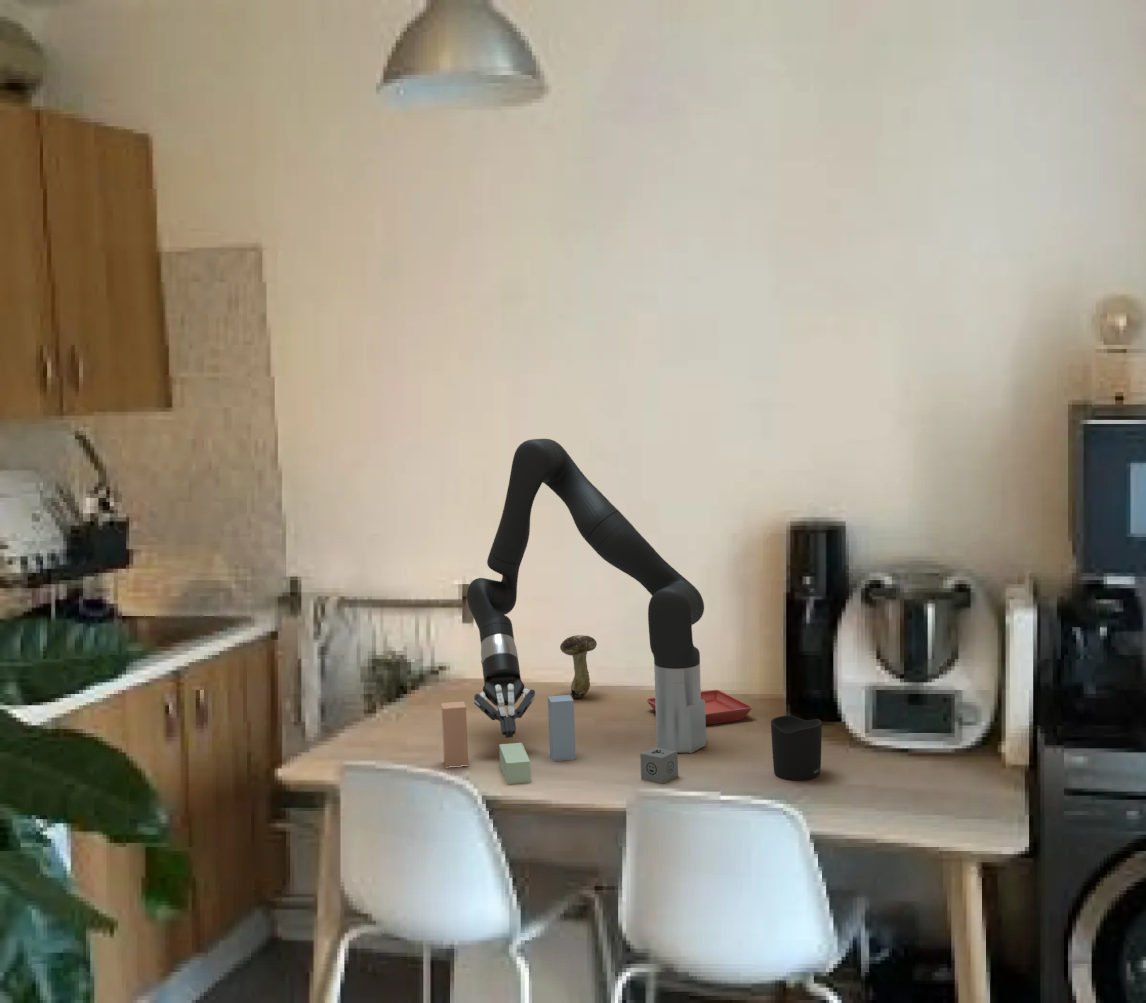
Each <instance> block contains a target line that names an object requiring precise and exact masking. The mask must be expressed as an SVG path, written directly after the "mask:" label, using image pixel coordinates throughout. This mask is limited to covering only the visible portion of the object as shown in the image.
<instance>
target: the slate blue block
mask: <svg viewBox="0 0 1146 1003" xmlns="http://www.w3.org/2000/svg"><path fill="white" fill-rule="evenodd" d="M574 701H575V700H574V699H573V697H572V695H571V694H564V695H563V694H562V695H551V696H547V711H548V713H547V714H548V733H549V734H548V735H549V736H548V738H549V739H548V741H549V755H550V757H551V759H552V761H553V762H561V761H563V762H564V761H571V760H573V761H575V760H577V757H576V756H577V754H576V751H577V750H576V730H575V726H576V725H575V704H574Z"/></svg>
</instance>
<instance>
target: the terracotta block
mask: <svg viewBox="0 0 1146 1003" xmlns="http://www.w3.org/2000/svg"><path fill="white" fill-rule="evenodd" d="M440 704H441V724H442V744H443V763H444V762H445V763H444V767H445V766H446V767H449V766H461V765H469V746H468V726H467V724H468V722H467V706H466V703H465V701H450V702H442V703H440ZM446 767H445V768H446Z"/></svg>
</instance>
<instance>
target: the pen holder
mask: <svg viewBox="0 0 1146 1003" xmlns="http://www.w3.org/2000/svg"><path fill="white" fill-rule="evenodd" d="M822 724H823V722H822V720H821V719H819V718H815V719H814V718H813V719H809V720H806V719H802V718H801V717H797V716H793V715H782V716H778V717H774V718H772V719H771V720H770V730H771V732H770V733H771V748H772V749H771V750H772V762H773V765H772V766H773V772H774V774H775V775H776V776H777V777H779V778H781V779H783V780H789V781H807V780H808V781H809V780H812V779H815V778H817V777H819V775H820V774H821V770H822V769H821V768H822V767H821V766H822V738H823V737H822V735H823V734H822V732H823V731H822V730H823V728H822V726H823V725H822Z"/></svg>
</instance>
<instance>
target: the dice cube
mask: <svg viewBox="0 0 1146 1003" xmlns="http://www.w3.org/2000/svg"><path fill="white" fill-rule="evenodd" d="M678 754H679V753H677V751H674V750H669V749H664V748H659V747H657V746H654V747H652V748H650V749H648V750H645V751H643V752H641V753H640V754H639V755H640V756H639V757H640V759H639V760H640V779H641V780H644V781H648V782H652V783H657V784H665V783H668V782H669V781H672V780H674V779H676V778H678V777H679V760H678V759H679V757H678Z"/></svg>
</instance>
